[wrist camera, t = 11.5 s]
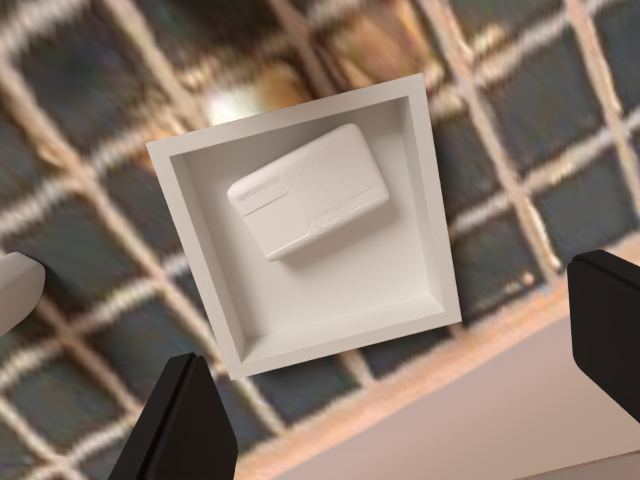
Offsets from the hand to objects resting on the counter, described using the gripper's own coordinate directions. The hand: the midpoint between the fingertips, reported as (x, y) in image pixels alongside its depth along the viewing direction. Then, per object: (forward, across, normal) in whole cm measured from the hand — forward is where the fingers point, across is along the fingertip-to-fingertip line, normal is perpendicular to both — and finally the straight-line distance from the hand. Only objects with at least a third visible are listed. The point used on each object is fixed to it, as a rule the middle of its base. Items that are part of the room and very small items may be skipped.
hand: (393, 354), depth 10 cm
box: (+19, +2, +2) cm, 19 cm away
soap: (+19, +1, -1) cm, 19 cm away
